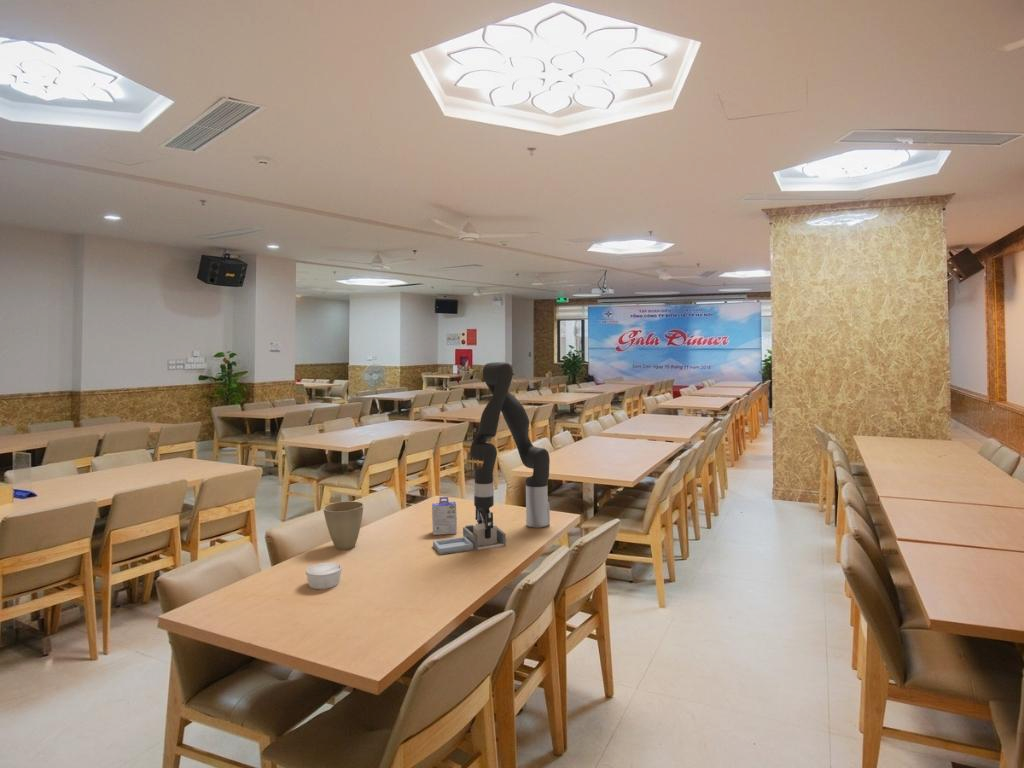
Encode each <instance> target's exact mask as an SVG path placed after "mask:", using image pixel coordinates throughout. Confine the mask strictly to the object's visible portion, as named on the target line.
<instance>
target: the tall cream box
mask: <svg viewBox="0 0 1024 768" xmlns="http://www.w3.org/2000/svg"><path fill="white" fill-rule="evenodd" d="M472 525H473V534H474V535H475V536H476V537H477V547H482V546H489V545H496V544H498V541H497V527H498V526H497V524H495V523H494V522H493V528H491V538H489V539H486V538H485V527H484V524H483V523H481V524H478V523H476V524H475V523H474V524H472ZM488 525H489V523H488ZM481 545H482V546H481Z"/></svg>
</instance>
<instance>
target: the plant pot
mask: <svg viewBox="0 0 1024 768" xmlns="http://www.w3.org/2000/svg"><path fill="white" fill-rule="evenodd" d="M322 508H323V510H322V511H323V513H324V519H325V522H326V523H325V524H326V527H327V531H328V533H329V536H330V539H331V541H332V544H333V545H334V547H335V549H336V550H341V551H345V550H350V549H353V548H355V547H356V545H357V540H358V538H359V534H360V531H361V525H362V521H363V514H364V513H363V512H364V503H363V502H361V501H355V500H354V501H353V500H350V501H349V500H346V501H339V502H338V501H337V502H333V503H329V504H327V505H325V506H324V507H322Z"/></svg>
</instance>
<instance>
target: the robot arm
mask: <svg viewBox="0 0 1024 768" xmlns="http://www.w3.org/2000/svg"><path fill="white" fill-rule="evenodd" d="M513 371H514V370H513V368H512V366H511V364H510V363H508V362H505V361H500V362H499V361H498V362H497V361H496V362H488V363H486V364H485V365H484V366H483V368H482V377H483V381H484V383H485V384H486V387H487V388H488V390H489V391H490V392H491V394H492V396H491V398H490V399H489V401H488V403H487V404H486V406H485V407H484V409H483V411H482V413H481V417H480V419H479V420H480V421H479V426H478V430H477V433H476V435H475V436H474V439H473V440H472V443H471V445H470V449H469V453H470V457H471V458H472V460H476V461H481V462H482V466H478V467H476V468H475V469H474V487H473V488H474V489H473V505H474V507H475V518H474V519H475V521H476V522H477V523H476V524H481V523H483V524H484V527H485V538H486V539H489V538H491V528H493V523H494V513H493V512H492V511H490V508H493V507H494V502H495V501H494V497H495V496H494V477H493V472H494V468H495V465H496V460H497V456H498V455H497V454H498V451H497V447H496V446H495V445H494V444H493V443H491V442H490V443H489V442H487V441H488V440H489V439H492V438H494V437H496V435H497V432H498V431H497V430H498V425H499V421H500V417H501V416H500V415H501V414H502V416H503V417H502V418H503V419H504V421H505V423H506V425H507V427H508V429H509V431H510V434H511V436H512V439H513V441H514V443H515V446H516V448H517V452H518V455H519V457H520V460H521V463H522V465H523V466H524V467H526V468H527V469H531V470H532V475H531V476H529V477H527V478H525V509H526V510H525V515H526V517H525V518H526V519H525V521H526V522H525V523H526V526H527V527H530V528H535V529H536V528H544V527H548V526H550V525H551V524H550V522H551V519H550V518H551V517H550V516H551V514H550V512H551V511H550V502H548V500H549V499H548V481H549V478H550V454H549V452H548V450H547V449H545V448H543V447H536V446H534V445H533V443H532V441H531V439H530V437H529V428H530V419H529V417H528V414H527V411H526V410H525V407H524V406H523V404H522V402H520V401H519V399H517V398H516V397H515V396H514V395H513V394H512V393H511V392H510V391H509V389H510V387H511V382H512V381H513V376H514V374H513ZM488 523H489V525H488Z"/></svg>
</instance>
